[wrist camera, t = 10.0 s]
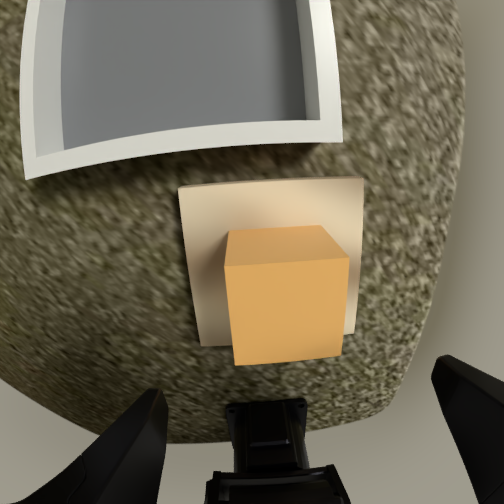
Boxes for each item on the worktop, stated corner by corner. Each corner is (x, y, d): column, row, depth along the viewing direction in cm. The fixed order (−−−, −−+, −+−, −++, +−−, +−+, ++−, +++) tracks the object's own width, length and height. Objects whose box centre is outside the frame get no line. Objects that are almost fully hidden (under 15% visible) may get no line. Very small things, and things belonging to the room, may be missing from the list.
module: (318, 304, 19) (340, 355, 14) (236, 311, 19) (235, 365, 14) (320, 224, 17) (349, 257, 12) (228, 230, 17) (224, 266, 12)
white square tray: (323, 141, 16) (342, 142, 13) (57, 171, 16) (25, 180, 13) (297, -76, 11) (306, -104, 8) (64, -36, 11) (41, -55, 7)
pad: (349, 325, 20) (353, 333, 20) (202, 337, 20) (201, 346, 19) (357, 176, 17) (363, 178, 16) (181, 186, 17) (178, 188, 16)
